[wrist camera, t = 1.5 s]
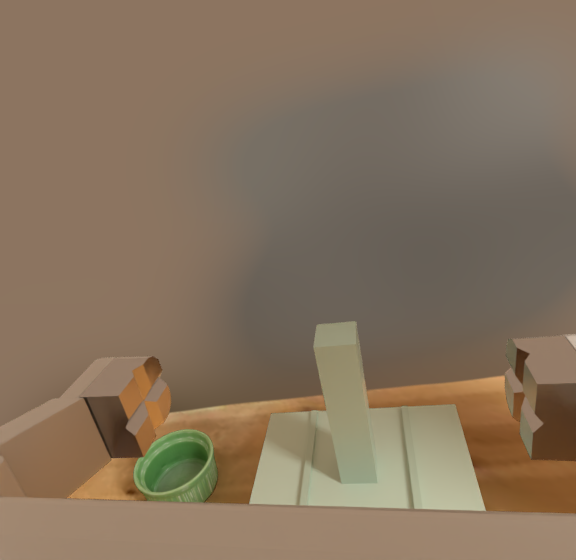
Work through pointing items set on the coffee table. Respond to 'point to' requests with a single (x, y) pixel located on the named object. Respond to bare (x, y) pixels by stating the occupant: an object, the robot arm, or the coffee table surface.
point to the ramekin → (178, 468)
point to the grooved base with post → (364, 445)
